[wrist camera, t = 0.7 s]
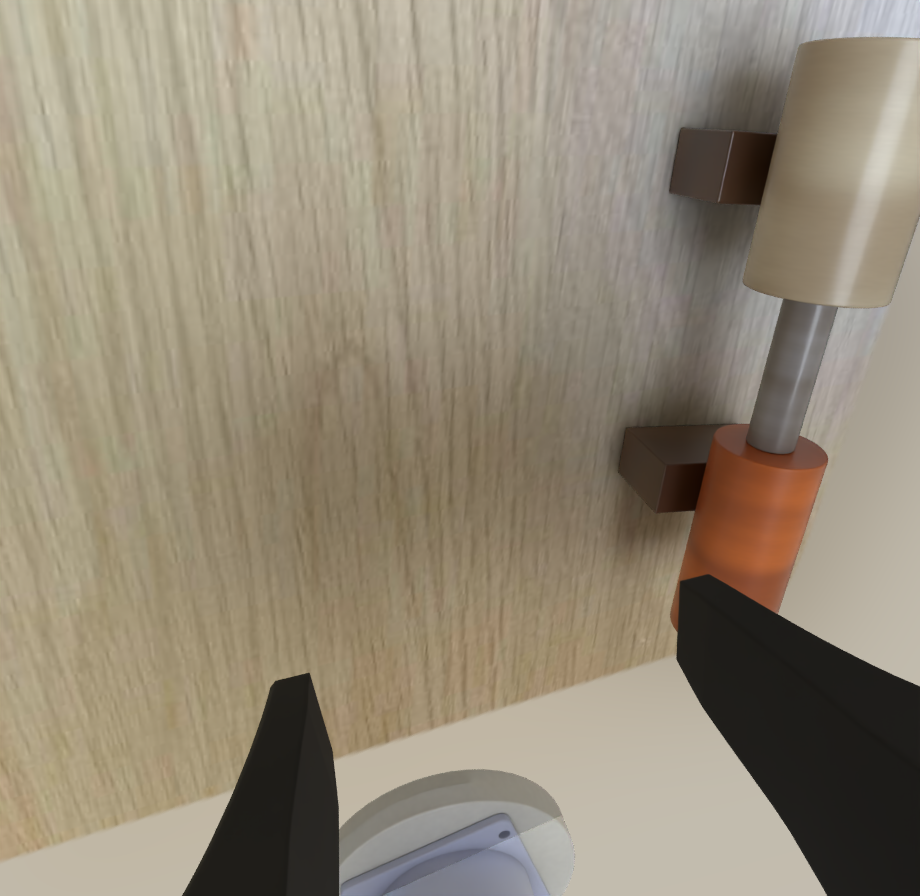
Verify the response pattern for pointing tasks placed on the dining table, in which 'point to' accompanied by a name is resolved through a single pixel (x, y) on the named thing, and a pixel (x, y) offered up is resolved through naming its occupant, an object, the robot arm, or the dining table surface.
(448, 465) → the dining table surface
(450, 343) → the dining table surface
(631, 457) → the small blocks
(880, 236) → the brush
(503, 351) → the dining table surface
